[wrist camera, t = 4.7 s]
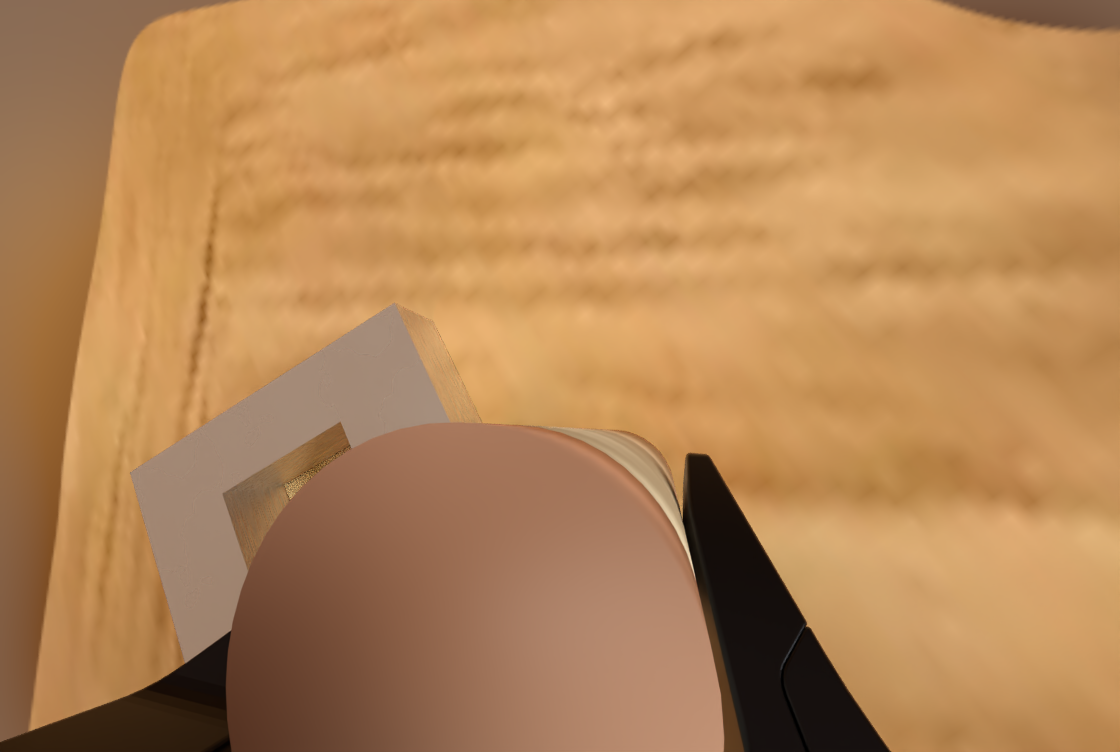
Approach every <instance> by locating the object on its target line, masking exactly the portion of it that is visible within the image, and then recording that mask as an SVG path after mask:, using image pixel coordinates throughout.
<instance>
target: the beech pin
mask: <svg viewBox="0 0 1120 752" xmlns="http://www.w3.org/2000/svg"><path fill="white" fill-rule="evenodd" d="M226 703H227V722H228V729H229V737H230V744H231V751H232V752H723V751H724V729H723V716H722V703H721V693H720V688H719V683H718V678H717V673H716V668H715V663H714V658H713V653H712V649H711V644H710V640H709V635H708V631H707V627H706V622H705V618H704V613H703V609H702V604H701V600H700V596H699V591H698V587H697V582H696V578H695V574H694V569H693V565H692V560H691V556H690V552H689V547H688V543H687V538H686V534H685V529H684V525H683V521H682V516H681V512H680V507H679V503H678V499H677V494H676V490H675V485H674V481H673V477H672V473H671V470H670V468H669V466H668V464H667V462H666V460H665V459H664V457H663V455H662V454H661V453H660V452H659V451H658V449H657V448H656V447H654V446H653V445H652V444H651V443H650V442H648V441H647V440H645V439H644V438H642V437H640V436H638V435H636V434H633V433H630V432H626V431H619V430H602V429H582V428H563V427H543V426H523V425H503V424H483V423H464V422H451V423H429V424H423V425H418V426H413V427H407V428H402V429H398V430H395V431H392V432H389V433H386V434H383V435H381V436H378V437H375V438H372V439H370V440H368V441H366V442H364V443H362V444H360V445H358V446H356V447H354V448H352V449H350V450H348V451H346V452H345V453H344V454H342V455H341V456H339V457H338V458H336V459H335V460H333V461H332V462H331V463H329V464H328V465H326V466H325V467H323V468H322V469H321V470H320V471H319V472H318V473H317V474H316V475H314V476H313V477H312V478H311V479H310V480H309V481H308V482H307V483H306V484H305V485H303V486H302V487H301V489H300V490H299V491H298V492H297V493H296V494H295V495H294V497H293V498H292V499H291V500H290V501H289V502H288V504H287V505H286V506H285V507H284V508H283V510H282V511H281V513H280V514H279V515H278V517H277V518H276V520H275V521H274V523H273V524H272V526H271V527H270V529H269V530H268V532H267V533H266V535H265V537H264V539H263V541H262V543H261V545H260V547H259V549H258V551H257V553H256V555H255V556H254V558H253V560H252V563H251V565H250V568H249V571H248V573H247V576H246V578H245V581H244V584H243V586H242V589H241V592H240V596H239V600H238V603H237V607H236V611H235V615H234V618H233V623H232V629H231V636H230V642H229V648H228V657H227V674H226Z"/></svg>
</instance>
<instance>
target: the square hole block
mask: <svg viewBox="0 0 1120 752" xmlns="http://www.w3.org/2000/svg"><path fill="white" fill-rule="evenodd" d="M451 422H464V423H482V421H481V419H480V417H479V415H478V413H477V411H476V409H475V407H474V405H473V403H472V401H471V398H470V396H469V394H468V392H467V390H466V388H465V386H464V384H463V382H462V380H461V378H460V376H459V374H458V372H457V370H456V368H455V365H454V363H453V361H452V359H451V357H450V355H449V353H448V351H447V349H446V347H445V345H444V343H443V341H442V339H441V337H440V335H439V332H438V330H437V328H436V326H435V324H434V322H433V321H431V320H429V319H427V318H425V317H423V316H421V315H419V314H417V313H415V312H413V311H411V310H408V309H406V308H404V307H402V306H400V305H398V304H396V303H394V304H392V305H390V306H389V307H387V308H386V309H384V310H383V311H381V312H380V313H378V314H376V315H375V316H373V317H372V318H370V319H369V320H367V321H365V322H364V323H362V324H361V325H359V326H358V327H356V328H355V329H353V330H351V331H350V332H348V333H347V334H345V335H344V336H342V337H341V338H339V339H337V340H336V341H334V342H333V343H331V344H330V345H328V346H326V347H325V348H323V349H322V350H320V351H319V352H317V353H316V354H314V355H312V356H311V357H309V358H308V359H306V360H305V361H303V362H302V363H300V364H298V365H297V366H295V367H294V368H292V369H291V370H289V371H288V372H286V373H284V374H283V375H281V376H280V377H278V378H277V379H275V380H273V381H272V382H270V383H269V384H267V385H266V386H264V387H263V388H261V389H259V390H258V391H256V392H255V393H253V394H252V395H250V396H249V397H247V398H245V399H244V400H242V401H241V402H239V403H238V404H236V405H234V406H233V407H231V408H230V409H228V410H227V411H225V412H224V413H222V414H220V415H219V416H217V417H216V418H214V419H213V420H211V421H210V422H208V423H206V424H205V425H203V426H202V427H200V428H199V429H197V430H195V431H194V432H192V433H191V434H189V435H188V436H186V437H185V438H183V439H181V440H180V441H178V442H177V443H175V444H174V445H172V446H171V447H169V448H167V449H166V450H164V451H163V452H161V453H160V454H158V455H156V456H155V457H153V458H152V459H150V460H149V461H147V462H146V463H144V464H142V465H141V466H139V467H138V468H136V469H135V470H133V471H132V472H130V474H131V477H132V481H133V484H134V488H135V491H136V495H137V498H138V502H139V505H140V509H141V512H142V516H143V519H144V523H145V526H146V529H147V533H148V536H149V540H150V543H151V547H152V550H153V554H154V557H155V561H156V564H157V568H158V571H159V574H160V578H161V581H162V585H163V588H164V592H165V595H166V599H167V602H168V606H169V609H170V613H171V616H172V619H173V623H174V626H175V630H176V633H177V637H178V640H179V644H180V647H181V651H182V654H183V658H184V661H185V663H187V662H188V661H189V660H191V659H192V658H193V657H195V656H196V655H198V654H199V653H200V652H202V651H203V650H204V649H206V648H207V647H209V646H210V645H211V644H213V643H214V642H216V641H217V640H218V639H220V638H221V637H222V636H224V635H225V634H227V633H228V632H229V631H231V629H232V623H233V618H234V615H235V611H236V607H237V603H238V600H239V596H240V592H241V589H242V586H243V584H244V581H245V578H246V576H247V573H248V571H249V568H250V565H251V563H252V560H253V558H254V556H255V555H256V553H257V551H258V549H259V547H260V545H261V543H262V541H263V539H264V537H265V535H266V533H267V532H268V530H269V529H270V527H271V526H272V524H273V523H274V521H275V520H276V518H277V517H278V515H279V514H280V513H281V511H282V510H283V508H284V507H285V506H286V505H287V504H288V502H289V499H288V496H287V493H286V491H285V488H284V484H286V483H287V482H289V481H291V480H292V479H294V478H296V477H297V476H299V475H301V474H302V473H304V472H306V471H307V470H309V469H311V468H312V467H314V466H316V465H317V464H319V463H321V462H322V461H324V460H326V459H327V458H329V457H331V456H332V455H334V454H336V453H337V452H339V451H341V450H342V449H344V448H346V447H347V446H349V445H350V446H351V448H354V447H356V446H358V445H360V444H362V443H364V442H366V441H368V440H370V439H372V438H375V437H378V436H381V435H383V434H386V433H389V432H392V431H395V430H398V429H402V428H407V427H413V426H418V425H423V424H429V423H451Z"/></svg>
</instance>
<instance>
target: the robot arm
mask: <svg viewBox="0 0 1120 752" xmlns="http://www.w3.org/2000/svg"><path fill="white" fill-rule="evenodd" d="M683 525H684V529H685V534H686V538H687V543H688V547H689V552H690V556H691V560H692V565H693V569H694V574H695V578H696V582H697V587H698V591H699V596H700V600H701V604H702V609H703V613H704V618H705V622H706V627H707V631H708V635H709V640H710V644H711V649H712V653H713V658H714V663H715V668H716V673H717V678H718V683H719V688H720V693H721V703H722V716H723V729H724V751H723V752H891V751H890V750H889V748H888V747H887V746H886V744H885V743H884V741H883V740H882V739H881V737H880V736H879V734H878V733H877V731H876V730H875V728H874V727H873V726H872V724H871V723H870V721H869V720H868V718H867V717H866V715H865V714H864V712H863V711H862V709H861V708H860V707H859V705H858V704H857V702H856V701H855V699H854V698H853V696H852V695H851V693H850V692H849V690H848V689H847V687H846V686H845V684H844V682H843V681H842V679H841V678H840V676H839V674H838V673H837V671H836V670H835V668H834V666H833V665H832V663H831V661H830V660H829V658H828V657H827V655H826V653H825V652H824V650H823V648H822V647H821V645H820V643H819V642H818V640H817V638H816V636H815V635H814V633H813V631H812V630H811V628H810V627H806V625H807V621H806V620H805V618H804V616H803V615H802V613H801V611H800V610H799V608H798V606H797V604H796V603H795V601H794V599H793V598H792V596H791V594H790V592H789V591H788V589H787V587H786V586H785V584H784V582H783V581H782V579H781V577H780V575H779V574H778V572H777V570H776V569H775V567H774V565H773V563H772V562H771V560H770V558H769V557H768V555H767V553H766V552H765V550H764V548H763V546H762V545H761V543H760V541H759V540H758V538H757V536H756V534H755V533H754V531H753V529H752V528H751V526H750V524H749V523H748V521H747V519H746V517H745V516H744V514H743V512H742V511H741V509H740V507H739V505H738V504H737V502H736V500H735V499H734V497H733V495H732V494H731V492H730V490H729V488H728V487H727V485H726V483H725V482H724V480H723V478H722V476H721V475H720V473H719V471H718V470H717V468H716V466H715V465H714V463H713V461H712V459H711V458H710V457H709V456H708V455H707V454H698V453H688V454H687V455H686V460H685V470H684V482H683ZM805 627H806V628H805ZM230 636H231V631H229V632H228V633H227V634H225V635H224V636H222V637H221V638H220V639H218V640H217V641H216V642H214V643H213V644H211V645H210V646H209V647H207V648H206V649H204V650H203V651H202V652H200V653H199V654H198V655H196V656H195V657H193V658H192V659H191V660H189V661H188V662H187V663H185V664H184V665H182V666H181V667H179V668H178V669H176V670H175V671H173V672H172V673H170V674H169V675H167V676H165V677H164V678H162V679H160V680H159V681H157V682H155V683H153V684H151V685H149V686H147V687H146V688H144V689H142V690H139V691H137V692H135V693H133V694H130V695H128V696H126V697H123V698H120V699H118V700H115V701H112V702H109V703H107V704H104V705H101V706H98V707H96V708H93V709H90V710H87V711H85V712H82V713H79V714H76V715H74V716H71V717H68V718H65V719H62V720H60V721H57V722H54V723H51V724H49V725H46V726H43V727H40V728H38V729H35V730H32V731H29V732H27V733H24V734H21V735H18V736H16V737H13V738H10V739H7V740H4V741H2V742H0V752H232V751H231V744H230V737H229V729H228V722H227V703H226V674H227V657H228V648H229V642H230Z"/></svg>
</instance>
